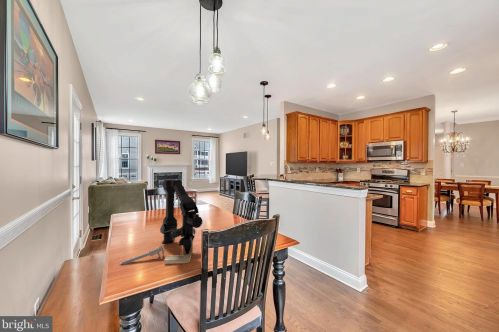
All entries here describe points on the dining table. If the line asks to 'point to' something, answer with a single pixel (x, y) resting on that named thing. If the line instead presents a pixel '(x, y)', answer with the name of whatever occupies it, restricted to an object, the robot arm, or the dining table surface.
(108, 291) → the dining table surface
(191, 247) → the brown block with knob
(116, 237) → the dining table surface
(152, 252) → the caliper
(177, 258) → the board
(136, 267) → the dining table surface
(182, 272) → the dining table surface
